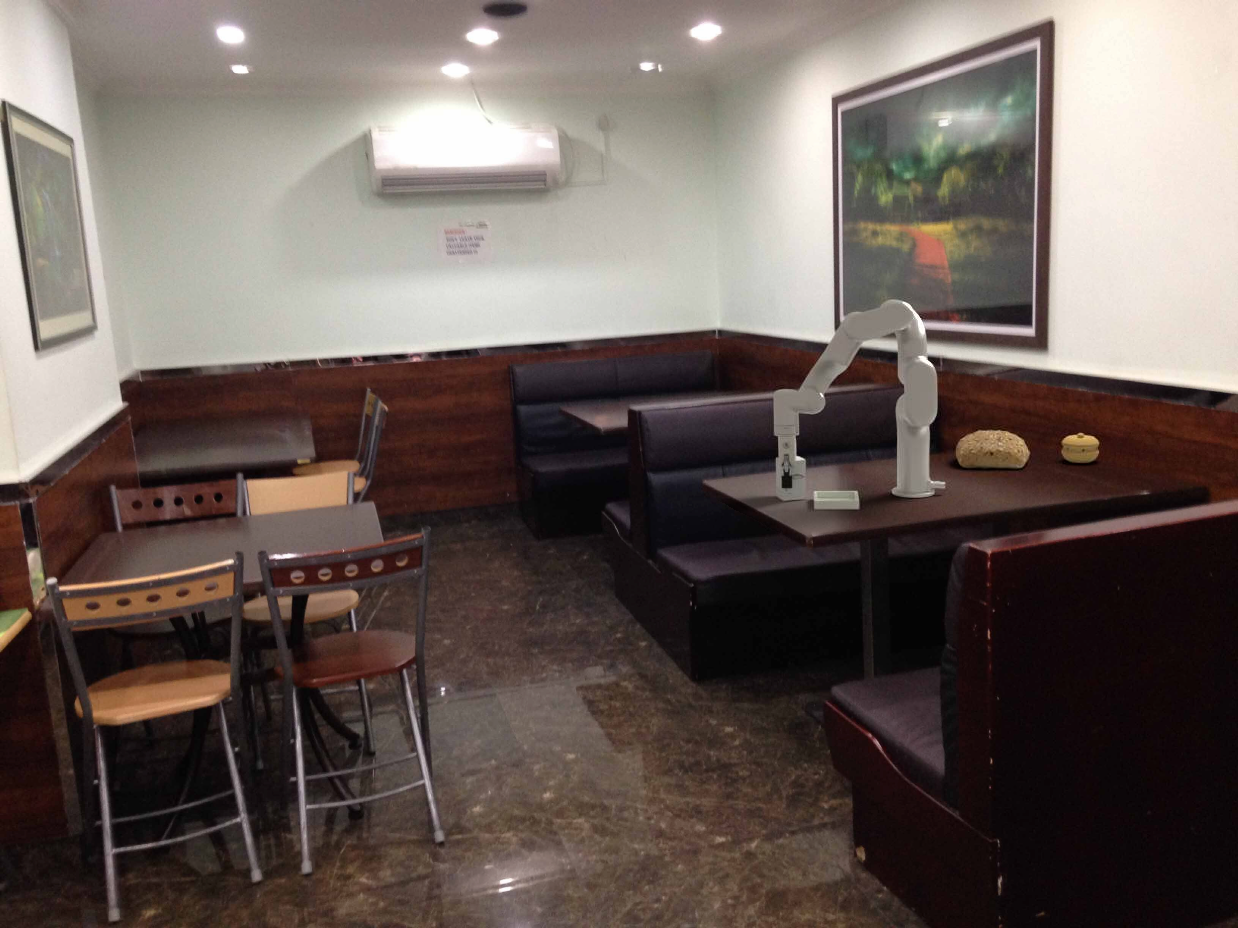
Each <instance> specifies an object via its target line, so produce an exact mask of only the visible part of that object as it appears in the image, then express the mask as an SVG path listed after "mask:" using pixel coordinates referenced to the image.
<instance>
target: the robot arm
mask: <svg viewBox="0 0 1238 928" xmlns="http://www.w3.org/2000/svg"><path fill="white" fill-rule="evenodd" d="M892 334H894V335H895V337H896V343H897V377H898V379H899V381H900V383H901V384H903V386H904V388H903V390H904V391H903V392H904V393H903V394H902V395H901V396H899V398H898V399H897V401H896V406H895V418H896V430H897V431H896V436H897V441H896V442H897V444H896V448H897V449H896V450H897V451H896V452H897V454H896V462H897V463H896V467H897V469H896V474H897V475H896V486H895V487H894V488H892V489H891V493H892V495H894V496H897V497H901V498H915V499H916V498H918V499H919V498H928V497H931V496H933V495H935V489H946V482H945V481H940V480H931V477H930V444H931V443H930V442H931V441H930V440H931V437H930V435H931V433H930V425H931V424H932V423H933V422H934V421H935V419H936V417H937V414H938V375H937V371H936V368H935V366H934V364H933V363H931V362H930V361H929V360H928V357H929V356H928V344H927V333H926V329H925V325H924V323H923V320H922V318H920V316H919V314H918V313H917V312H916V311H915V310H914V309H913V307H912V306H911V305H910V303H908V302H905V301H903V300H899V299H888V300H886V301H884V302H883V303H882V304H881V305H880V306H879V307H877V308H876V307H875V308H874V309H871V310H866V311H862V312H861V311H853V312H850V313H848V314H847V315H846V316H845V317H844V319H843V320H842V321H841V323H840V324H839V327H838V328H837V330H836V331H835V333H834V335H833V337H832V338H831V340H830V342H829V343H828V344H827V346H826V348H825V350H824V351H823V352H822V354H821V356H820V357H819V358H818V360H817V361H816V363H815V364H814V366H813V367H812V368H811V370H810V371H809V373H808V374H807V376H806V377H805V379H804V381H803V382H802V384H801V386H800V388H799V390H798V391H797V390H796V389H791V388H790V389H789V388H783V389H778V390H776V391H774V392H773V435H774V436H775V437H777V438H778V439H777V441H778V443H777V444H778V457H779V461H780V467H781V468H782V475H781V479H782V488H792V475H791V466H792V467H794V468H795V467H796V456H797V438H796V436H799V435H800V420H799V419H800V417H799V415H800V414H809V415H815V414H819V413H820V412H821V411H822V410H824V408H825V406H826V398H825V393H826V391H827V390H828V388H829V387H830V385H831V384H832V382H833V381H834V380H835V379H836V378H837V377H838V375H840V374H842V373H843V372H845V371H846V370H847V369H848V367H849V366H850V364H851V363H852V362H853V359H854V357H855V356H856V354H857V353H858V351H859V350H860V347H862V345H863V343H864V342H868V341H871V340H876V339H878V338H882V337H885V336H888V335H892ZM788 461H790V466H788ZM783 462H784V466H783ZM789 474H790V475H789Z"/></svg>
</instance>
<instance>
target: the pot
mask: <svg viewBox="0 0 1238 928" xmlns="http://www.w3.org/2000/svg"><path fill="white" fill-rule="evenodd" d="M1099 441H1100V440H1098V439H1097V438H1096V437H1095V436H1092V435H1088V434H1087V435H1086V434H1084V433H1082V432H1079V433H1077V434H1073V435H1068V436H1066V437H1065V438H1063V440H1062V441H1061V444H1062V446H1063V448H1062V449H1061V451H1060V452H1061V455H1062V457H1063V458H1064V459H1065V460H1066V461H1068V462H1070V463H1074V464H1087V463H1091V462H1093V461H1095V460H1096V459H1097V457H1098V456H1099V454H1100V451H1099V449H1098V447H1099V446H1100V442H1099Z"/></svg>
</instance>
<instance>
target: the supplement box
mask: <svg viewBox="0 0 1238 928" xmlns="http://www.w3.org/2000/svg"><path fill="white" fill-rule="evenodd" d="M806 465H807V461H806V459H805V458H803V457H801V456H798V455H796V467H795V468H794V467H792V466H791V475H792V488H782V479H781V475H782V468H781V467H780V461H779V456H777V457H776V458H775V476H776V477H775V480H776V483H775V487H776V489H775V491H776V497H777V498H778V499H779V500H782V501H783V502H787V501H796V500H800V501H801V500H806V499H807V486H806V484H807V482H806V481H807V477H806V476H807V475H806V474H807V473H806V472H807V471H806V469H807V466H806ZM783 466H784V462H783ZM788 466H790V461H788ZM789 475H790V474H789Z"/></svg>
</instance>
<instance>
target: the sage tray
mask: <svg viewBox="0 0 1238 928" xmlns="http://www.w3.org/2000/svg"><path fill="white" fill-rule="evenodd" d="M813 510H860V499H859V493H858V490H824V491H823V490H817V491H816V490H815V491H814V490H813Z"/></svg>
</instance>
